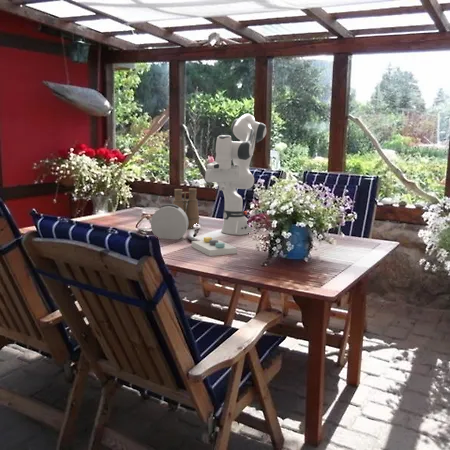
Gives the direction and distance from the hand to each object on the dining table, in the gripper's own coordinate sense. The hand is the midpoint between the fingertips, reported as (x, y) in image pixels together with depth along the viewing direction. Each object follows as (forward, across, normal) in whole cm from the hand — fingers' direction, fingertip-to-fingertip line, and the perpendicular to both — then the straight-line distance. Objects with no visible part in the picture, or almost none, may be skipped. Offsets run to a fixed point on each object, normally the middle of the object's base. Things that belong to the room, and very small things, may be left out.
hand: (222, 190), depth 292 cm
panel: (+31, +9, +9) cm, 34 cm away
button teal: (+31, +9, +16) cm, 36 cm away
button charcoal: (+31, +9, +9) cm, 33 cm away
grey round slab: (+31, +19, -28) cm, 46 cm away
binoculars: (+31, -2, -52) cm, 61 cm away
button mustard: (+31, +9, +2) cm, 32 cm away
